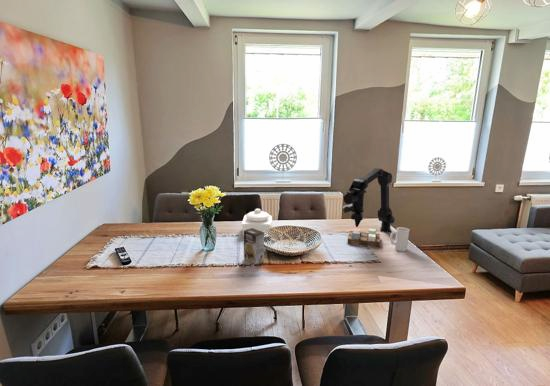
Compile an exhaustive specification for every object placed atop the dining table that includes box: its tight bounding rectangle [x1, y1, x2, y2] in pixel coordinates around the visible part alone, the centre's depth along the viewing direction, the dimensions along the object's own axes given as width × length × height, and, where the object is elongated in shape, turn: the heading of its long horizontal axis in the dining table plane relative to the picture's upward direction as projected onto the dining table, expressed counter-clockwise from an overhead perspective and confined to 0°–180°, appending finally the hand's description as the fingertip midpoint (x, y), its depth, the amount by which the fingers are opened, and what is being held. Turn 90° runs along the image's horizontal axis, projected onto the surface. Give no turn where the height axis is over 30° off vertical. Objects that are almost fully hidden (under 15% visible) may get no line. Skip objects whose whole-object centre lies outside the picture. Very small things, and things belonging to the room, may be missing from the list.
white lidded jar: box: [241, 208, 273, 238], centre depth 210 cm, size 18×18×16 cm
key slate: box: [352, 230, 361, 240], centre depth 194 cm, size 4×4×4 cm
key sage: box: [368, 228, 377, 235], centre depth 198 cm, size 4×4×4 cm
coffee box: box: [243, 228, 265, 265], centre depth 171 cm, size 9×6×16 cm
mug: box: [389, 226, 410, 252], centre depth 185 cm, size 10×7×12 cm, turn 89°
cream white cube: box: [368, 234, 376, 242], centre depth 192 cm, size 4×4×4 cm
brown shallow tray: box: [346, 230, 381, 248], centre depth 197 cm, size 14×18×3 cm
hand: (356, 226), depth 193 cm, fingers closed
